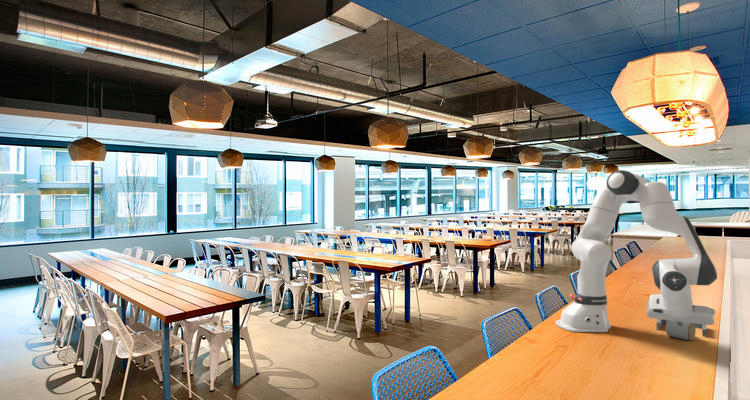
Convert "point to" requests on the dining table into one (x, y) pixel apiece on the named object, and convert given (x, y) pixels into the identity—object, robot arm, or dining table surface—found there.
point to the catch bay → (703, 326)
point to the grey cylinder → (680, 330)
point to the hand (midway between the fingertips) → (680, 324)
